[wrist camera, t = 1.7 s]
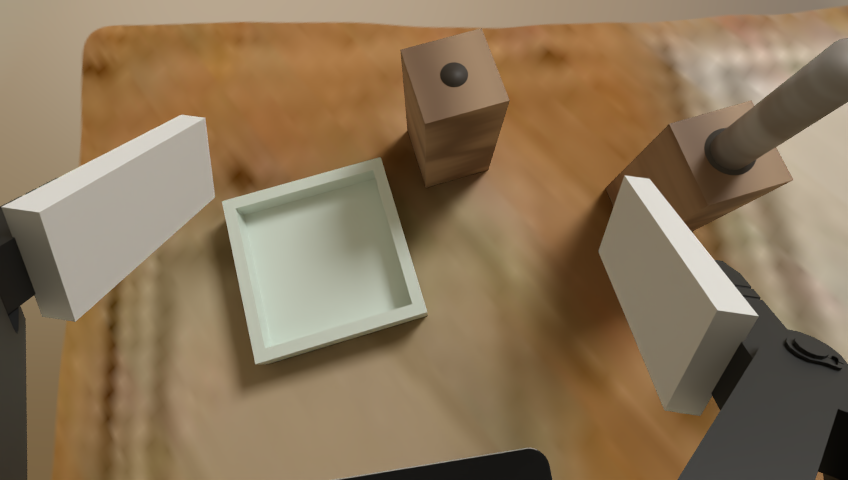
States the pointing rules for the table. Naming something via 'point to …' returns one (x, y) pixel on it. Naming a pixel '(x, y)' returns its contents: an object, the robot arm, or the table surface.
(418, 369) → the table surface
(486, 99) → the block
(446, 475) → the tablet
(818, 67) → the block
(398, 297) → the tray
